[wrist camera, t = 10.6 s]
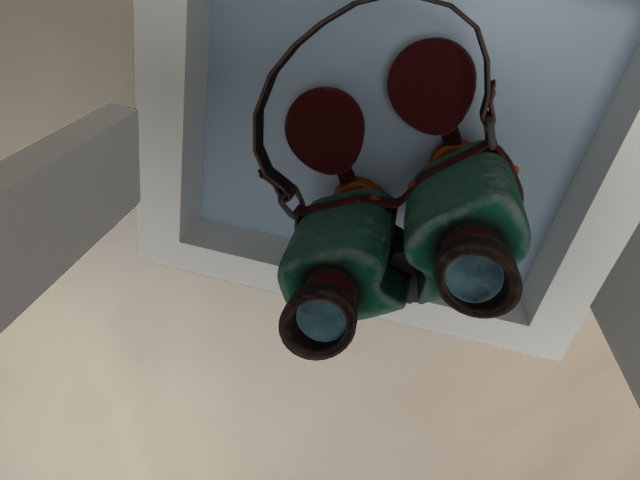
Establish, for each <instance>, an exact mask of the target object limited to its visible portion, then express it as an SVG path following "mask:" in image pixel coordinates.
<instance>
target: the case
mask: <svg viewBox="0 0 640 480" xmlns="http://www.w3.org/2000/svg"><path fill="white" fill-rule="evenodd" d="M352 1H355V0H133V14H134V71H135V109H138V118H139V161H140V202H139V203H138V204H137V241H138V259H139V260H143V261H148V262H152V263H156V264H160V265H164V266H168V267H172V268H176V269H180V270H184V271H189V272H193V273H197V274H201V275H205V276H209V277H213V278H217V279H221V280H225V281H230V282H234V283H238V284H242V285H246V286H250V287H254V288H258V289H262V290H266V291H270V292H275V293H279V294H282V292H281V290H280V286H279V283H278V279H277V273H278V267H279V264H280V261H281V259H282V257H283V254H284V252H285V250H286V248H287V246H288V244H289V241H290V239H291V237H292V235H293V233H294V231H295V230H294V224H295V220H294V219H292V218H290V217H289V216H288V215H287V214H286V213H285V211H284V210H283V209H282V208H281V207H280V206H279V203H278V196H277V194H276V192H275V190H274V188H273V186H272V185H271V184H269V183H268V182H267V181H265V180H264V179H261V178H260V177H259V173H258V170H259V169H260V167H259V165H258V162H257V160H256V158H255V155H254V153H253V112H254V110H255V107H256V104H257V102H258V99H259V97H260V94H261V91H262V89H263V86H264V83H265V81H266V78H267V75H268V73H269V72H270V71H271V70H272V68H273V67H274V66H275V65H276V63H277V62H278V61H279V60H280V58H281V57H282V56H283V55H284V53H285V52H286V51H287V50H288V49H289V47H290V46H291V45H292V44H293V43H294V42H295V41H296V40H298V39H299V38H300V37H301V36H302V35H304V34H305V33H306V32H307V31H308V30H309V29H311V28H312V27H313V26H314V25H315V24H317V23H318V22H319V21H321V20H323V19H324V18H326V17H327V16H329V15H331V14H332V13H334V12H336V11H337V10H339V9H341V8H342V7H344V6H346V5H347V4H349V3H350V2H352ZM441 1H445V2H449V3H452V4H454V5H455V6H456V7H457V8H458V9H459V10H461V11H462V12H463V13H464V14H465V15H466V16H468V17H469V18H470V19H471V20H472V21H474V22H475V23H476V24H477V25H478V26H479V27H480V29H481V33H482V36H483V39H484V42H485V45H486V49H487V52H488V55H489V58H490V73H491V81H492V80H493V79H495V80H496V88H495V91H496V95H495V97H494V101H493V104H494V110H495V115H496V123H495V136H496V140H497V144H498V145H499V146H501V147H502V148H503V150H504V151H505V152H506V153H507V155H508V156H509V157H510V159H511V161H512V162H513V165H515V166H517V167H519V173H518V177H519V180H520V182H521V185H522V187H523V193H524V202H523V204H524V208H525V211H526V215H527V218H528V221H529V226H530V231H531V243H530V249H529V251H528V254H527V255H526V257H525V258H524V259H523V261H521V262H520V263H519V264H518V265H517V267H518V269H519V272H520V275H521V278H522V284H523V291H522V296H521V299H520V301H519V303H518V304H517V305H516V306H515V308H514V309H513V310H511V311H510V312H508V313H507V314H505V315H502V316H500V317H496V318H490V319H479V318H474V317H469V316H467V315H464V314H461V313H459V312H458V311H456V310H454V309H453V308H451V307H450V306H449V305H448V304H447V303H445V301H444V300H443V299H439V300H435V301H431V302H427V303H425V304H419V303H413V302H412V304H408V303H406V305H405V307H404V308H403V309H401V310H397V311H394V312H390V313H387V314H384V315H380V316H376V317H377V318H381V319H385V320H389V321H393V322H398V323H402V324H406V325H410V326H414V327H418V328H422V329H426V330H430V331H434V332H439V333H443V334H447V335H451V336H455V337H459V338H463V339H467V340H471V341H475V342H480V343H484V344H488V345H492V346H496V347H500V348H504V349H508V350H512V351H516V352H521V353H525V354H529V355H533V356H537V357H541V358H545V359H549V360H553V361H557V362H561V360H562V359H563V357H564V355H565V354H566V352H567V350H568V348H569V347H570V345H571V343H572V341H573V340H574V338H575V336H576V335H577V333H578V331H579V329H580V328H581V326H582V324H583V323H584V321H585V319H586V317H587V316H588V314H589V312H590V310H591V308H590V305H591V303H592V301H593V300H594V298H595V296H596V295H597V293H598V291H599V290H600V288H601V286H602V285H603V283H604V281H605V279H606V278H607V276H608V274H609V273H610V271H611V269H612V268H613V266H614V264H615V263H616V261H617V259H618V258H619V256H620V254H621V252H622V251H623V249H624V247H625V246H626V244H627V242H628V241H629V239H630V237H631V236H632V234H633V232H634V230H635V229H636V227H637V225H638V224H639V222H640V0H441ZM439 37H440V38H446V39H450V40H452V41H454V42H457V43H458V44H460V45H461V46H462V47H463V48H465V49H466V51H467V52H468V53H469V55H470V56H471V58H472V60H473V62H474V65H475V69H476V74H477V82H476V91H475V95H474V99H473V101H472V104H471V107H470V109H469V111H468V112H467V114H466V116H465V117H464V119H463V121H462V122H461V123H460V124H459V125H458V128H459V131H460V135H461V139H462V140H467V141H470V142H472V143H473V142H476V141H479V140H484V139H485V135H484V127H483V124H482V122H481V120H480V114H479V111H480V108H481V104H482V100H483V96H484V59H483V56H482V53H481V49H480V46H479V43H478V40H477V37H476V33H475V30H474V28H473V27H471V26H470V25H469V24H468V23H467V22H466V21H464V20H463V19H462V18H461V17H460V16H458V15H457V14H456V13H455V12H454V11H453V10H451V9H450V8H448V7H444V6H441V5H437V4H433V3H429V2H425V1H421V0H379V1H375V2H370V3H366V4H362V5H358V6H356V7H355V8H353V9H351V10H350V11H348V12H346V13H345V14H343V15H341V16H340V17H338V18H336V19H335V20H333V21H331V22H329V23H328V24H326V25H325V26H324V27H322V28H321V29H320V30H319V31H318V32H316V33H315V34H314V35H313V36H312V37H310V38H309V39H308V40H307V41H306V42H304V43H303V44H302V45H301V46H300V47H299V48H298V50H297V51H296V52H295V53H294V55H293V56H292V57H291V58H290V59H289V61H288V62H287V63H286V64H285V65H284V67H283V68H282V69H281V70H280V72H279V73H278V75H277V78H276V81H275V83H274V86H273V88H272V91H271V93H270V96H269V99H268V101H267V104H266V106H265V109H264V147H265V149H266V152H267V154H268V157H269V159H270V161H271V164H272V166H273V167H274V168H275V169H276V170H277V171H279V172H280V173H281V174H282V175H284V176H285V177H286V178H288V179H289V180H290V181H291V182H292V183H294V184H296V185H297V187H298V189H299V191H300V193H301V195H302V197H303V199H304V201H305V205H306V206H309V205H310V204H311V203H312V202H313V201H315V200H318V199H320V198H323V197H327V196H331V195H333V194H334V192H335V190H336V188H337V186H338V185H339V184H340V181H339V178H338V176H337V175H326V174H322V173H319V172H317V171H314V170H313V169H311V168H309V167H307V166H306V165H305V164H304V163H302V162H301V161H300V160H299V159H298V158H297V157H296V156H295V154H294V153H293V152H292V150H291V149H290V147H289V145H288V143H287V139H286V136H285V119H286V115H287V113H288V110H289V108H290V106H291V105H292V103H293V102H294V100H296V99H297V98H298V97H299V96H300V95H301V94H303V93H304V92H306V91H308V90H310V89H313V88H317V87H333V88H338V89H340V90H342V91H345V92H346V93H348V94H349V95H350V96H352V97H353V98H354V99H355V101H356V102H357V103H358V104H359V106H360V108H361V110H362V113H363V117H364V120H365V134H364V142H363V146H362V149H361V152H360V154H359V156H358V158H357V161H356V162H355V163H354V165H353V166H352V169H353V171H354V174H355V176H359V177H364V178H367V179H369V180H371V181H373V182H374V183H376V184H377V185H378V186H380V187H381V188H382V189H383V190H384V191H385V192H386V193H388V194H390V195H391V196H392V197H394V198H398V197H400V196H401V195H403V194H404V193H405V191H406V190H407V189H408V183H409V182H410V181H412V180H413V178H414V177H415V175H416V174H417V173H418V172H419V171H420V170H421V169H422V168H423V167H425V166H427V165H428V164H429V160H430V157H431V155H432V153H433V151H434V150H435V149H436V148H437V146H438V145H440V144H441V143H443V139H442V136H441V135H438V136H434V135H427V134H424V133H422V132H419V131H417V130H415V129H414V128H412V127H411V126H409V125H408V124H406V123H405V122H404V121H403V120H402V119H401V118H400V117H399V116H398V114H397V113H396V112H395V110H394V109H393V107H392V105H391V103H390V100H389V96H388V92H387V79H388V74H389V70H390V68H391V66H392V63H393V61H394V60H395V59H396V57H397V56H398V54H399V53H400V52H401V51H402V50H404V49H405V48H406V47H407V46H409V45H410V44H412V43H414V42H416V41H419V40H422V39H425V38H439ZM487 110H488V111H489V108H488V109H487ZM406 201H407V200H406ZM286 205H287V206H288V207H289V208H290V209H291V210H292V212H293V211H294V209H295V208H296V206H297V205H299V200H298V198H297V197H296V195H294V197H293V198H292V199H291V201H289V202H287V203H286ZM405 208H406V202H405V203H404V204H403V205H401V206H400V207H398V211H397V217H396V225H397V226H399V227H401V228H402V229H404V215H405ZM302 216H303V215H302Z"/></svg>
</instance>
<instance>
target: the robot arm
mask: <svg viewBox="0 0 640 480" xmlns="http://www.w3.org/2000/svg"><path fill="white" fill-rule="evenodd" d="M139 202H140V161H139V118H138V109H134V108H129V107H125V106H120V105H116V104H111V103H110V104H108V105H106V106H105V107H103V108H101V109H99V110H97V111H95V112H93V113H91V114H89V115H87V116H85V117H84V118H82V119H80V120H78V121H76V122H74V123H72V124H70V125H68V126H66V127H64V128H63V129H61V130H59V131H57V132H55V133H53V134H51V135H49V136H47V137H45V138H44V139H42V140H40V141H38V142H36V143H34V144H32V145H30V146H28V147H26V148H24V149H23V150H21V151H19V152H17V153H15V154H13V155H11V156H9V157H7V158H5V159H3V160H2V161H0V333H1V332H2V331H3V330H4V329H5V328H7V327H8V326H9V325H10V324H11V323H12V322H13V321H14V320H15V319H16V318H17V317H18V316H19V315H20V314H21V313H22V312H24V311H25V310H26V309H27V308H28V307H29V306H30V305H31V304H32V303H33V302H34V301H35V300H36V299H37V298H38V297H39V296H41V295H42V294H43V293H44V292H45V291H46V290H47V289H48V288H49V287H50V286H51V285H52V284H53V283H54V282H55V281H56V280H58V279H59V278H60V277H61V276H62V275H63V274H64V273H65V272H66V271H67V270H68V269H69V268H70V267H71V266H72V265H73V264H74V263H76V262H77V261H78V260H79V259H80V258H81V257H82V256H83V255H84V254H85V253H86V252H87V251H88V250H89V249H90V248H91V247H93V246H94V245H95V244H96V243H97V242H98V241H99V240H100V239H101V238H102V237H103V236H104V235H105V234H106V233H107V232H108V231H110V230H111V229H112V228H113V227H114V226H115V225H116V224H117V223H118V222H119V221H120V220H121V219H122V218H123V217H124V216H125V215H127V214H128V213H129V212H130V211H131V210H132V209H133V208H134V207H135V206H136V205H137V204H138V203H139ZM590 308H591V310H592V312H593V314H594V316H595V318H596V320H597V322H598V324H599V326H600V328H601V330H602V332H603V334H604V336H605V338H606V340H607V342H608V344H609V347H610V349H611V351H612V353H613V355H614V357H615V359H616V361H617V363H618V365H619V367H620V369H621V371H622V373H623V375H624V377H625V379H626V381H627V383H628V385H629V387H630V389H631V392H632V394H633V396H634V398H635V400H636V402H637V404H638V406H639V408H640V222H639V224H638V225H637V227H636V229H635V230H634V232H633V234H632V236H631V237H630V239H629V241H628V242H627V244H626V246H625V247H624V249H623V251H622V252H621V254H620V256H619V258H618V259H617V261H616V263H615V264H614V266H613V268H612V269H611V271H610V273H609V274H608V276H607V278H606V279H605V281H604V283H603V285H602V286H601V288H600V290H599V291H598V293H597V295H596V296H595V298H594V300H593V301H592V303H591V305H590Z"/></svg>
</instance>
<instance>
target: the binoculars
mask: <svg viewBox="0 0 640 480" xmlns="http://www.w3.org/2000/svg"><path fill="white" fill-rule="evenodd" d="M375 1H379V0H355V1H352V2H350V3H349V4H347V5H346V6H344V7H342V8H341V9H339V10H337V11H336V12H334V13H332V14H331V15H329V16H327V17H326V18H324V19H323V20H321V21H319V22H318V23H317V24H315V25H314V26H313V27H312V28H311V29H309V30H308V31H307V32H306V33H305V34H304V35H302V36H301V37H300V38H299V39H298V40H296V41H295V42H294V43H293V44H292V45H291V46H290V47H289V49H288V50H287V51H286V52H285V53H284V55H283V56H282V57H281V58H280V60H279V61H278V62H277V63H276V65H275V66H274V67H273V68H272V70H271V71H270V72H269V73H268V75H267V78H266V81H265V83H264V86H263V89H262V91H261V94H260V97H259V99H258V102H257V104H256V107H255V110H254V112H253V153H254V155H255V158H256V160H257V162H258V165H259V167H260V169H259V170H258V173H259V177H260V178H261V179H264V180H265V181H267V182H268V183H269V184H271V185H272V186H273V188H274V190H275V192H276V194H277V196H278V203H279V206H280V207H281V208H282V209H283V210H284V211H285V213H286V214H287V215H288V216H289V217H290V218H292V219H294V220H295V224H294V230H295V231H294V233H293V235H292V237H291V239H290V241H289V244H288V246H287V248H286V250H285V252H284V254H283V257H282V259H281V261H280V264H279V267H278V273H277V279H278V283H279V286H280V290H281V292H282V294H283V296H284V298H285V301H286V303H287V304H286V306H285V308H284V309H283V311H282V314H281V316H280V319H279V334H280V337H281V339H282V342H283V343H284V345H285V346H286V347H287V349H289V350H290V351H291V352H292V353H293V354H295V355H297V356H299V357H301V358H304V359H307V360H316V361H317V360H325V359H329V358H332V357H334V356H336V355H338V354H340V353H341V352H342V351H343V350H345V349H346V348H347V347H348V345H349V344H350V343H351V341H352V339H353V337H354V334H355V330H356V324H357V320H361V319H367V318H372V317H376V316H380V315H384V314H387V313H390V312H394V311H397V310H401V309H403V308H404V307H405V305H406V303H408V304H412V302H413V303H419V304H425V303H427V302H431V301H435V300H439V299H443V300H444V301H445V303H447V304H448V305H449V306H450V307H451V308H453V309H454V310H456V311H458V312H459V313H461V314H464V315H467V316H469V317H474V318H479V319H490V318H496V317H500V316H502V315H505V314H507V313H508V312H510V311H511V310H513V309H514V308H515V306H516V305H517V304H518V303H519V301H520V299H521V296H522V291H523V284H522V278H521V275H520V272H519V269H518V267H517V265H518V264H519V263H520V262H521V261H523V259H524V258H525V257H526V255H527V254H528V251H529V249H530V243H531V231H530V226H529V221H528V218H527V215H526V211H525V208H524V204H523V202H524V193H523V187H522V185H521V182H520V180H519V177H518V173H519V167H517V166H515V165H513V162H512V161H511V159H510V157H509V156H508V155H507V153H506V152H505V151H504V150H503V148H502V147H501V146H499V145H498V144H497V140H496V136H495V123H496V115H495V110H494V104H493V101H494V97H495V95H496V91H495V88H496V80H495V79H493V80H492V81H491V73H490V58H489V55H488V52H487V49H486V45H485V42H484V39H483V36H482V33H481V29H480V27H479V26H478V25H477V24H476V23H475V22H474V21H472V20H471V19H470V18H469V17H468V16H466V15H465V14H464V13H463V12H462V11H461V10H459V9H458V8H457V7H456V6H455V5H454V4H452V3H449V2H445V1H441V0H421V1H425V2H429V3H433V4H437V5H441V6H444V7H448V8H450V9H451V10H453V11H454V12H455V13H456V14H457V15H458V16H460V17H461V18H462V19H463V20H464V21H466V22H467V23H468V24H469V25H470V26H471V27H473V28H474V30H475V33H476V37H477V40H478V43H479V46H480V49H481V53H482V56H483V59H484V96H483V100H482V104H481V108H480V111H479V114H480V120H481V122H482V124H483V127H484V135H485V139H484V140H479V141H476V142H473V143H472V142H470V141H467V140H462V139H461V135H460V131H459V128H458V125H459V124H460V123H461V122H462V121H463V119H464V117H465V116H466V114H467V112H468V111H469V109H470V107H471V104H472V101H473V99H474V95H475V91H476V82H477V74H476V69H475V65H474V62H473V60H472V58H471V56H470V55H469V53H468V52H467V51H466V49H465V48H463V47H462V46H461V45H460V44H458V43H457V42H454V41H452V40H450V39H446V38H440V37H439V38H425V39H422V40H419V41H416V42H414V43H412V44H410V45H409V46H407V47H406V48H405V49H404V50H402V51H401V52H400V53H399V54H398V56H397V57H396V59H395V60H394V61H393V63H392V66H391V68H390V70H389V74H388V79H387V92H388V96H389V100H390V103H391V105H392V107H393V109H394V110H395V112H396V113H397V114H398V116H399V117H400V118H401V119H402V120H403V121H404V122H405V123H406V124H408V125H409V126H411V127H412V128H414V129H415V130H417V131H419V132H422V133H424V134H427V135H434V136H438V135H441V136H442V139H443V143H441V144H440V145H438V146H437V148H436V149H435V150H434V151H433V153H432V155H431V157H430V160H429V164H428V165H427V166H425V167H423V168H422V169H421V170H420V171H419V172H418V173H417V174H416V175H415V177H414V178H413V180H412V181H410V182H409V183H408V189H407V190H406V191H405V193H404V194H403V195H401V196H400V197H398V198H394V197H392V196H391V195H390V194H388V193H386V192H385V191H384V190H383V189H382V188H381V187H380V186H378V185H377V184H376V183H374V182H373V181H371V180H369V179H367V178H364V177H359V176H355V174H354V171H353V169H352V166H353V165H354V163H355V162H356V161H357V158H358V156H359V154H360V152H361V149H362V146H363V142H364V134H365V120H364V117H363V113H362V110H361V108H360V106H359V104H358V103H357V102H356V101H355V99H354V98H353V97H352V96H350V95H349V94H348V93H346V92H345V91H342V90H340V89H338V88H333V87H317V88H313V89H310V90H308V91H306V92H304V93H303V94H301V95H300V96H299V97H298V98H297V99H296V100H294V102H293V103H292V105H291V106H290V108H289V110H288V113H287V115H286V119H285V136H286V139H287V143H288V145H289V147H290V149H291V150H292V152H293V153H294V154H295V156H296V157H297V158H298V159H299V160H300V161H301V162H302V163H304V164H305V165H306V166H307V167H309V168H311V169H313V170H314V171H317V172H319V173H322V174H326V175H337V176H338V178H339V181H340V184H339V185H338V186H337V188H336V190H335V192H334V194H333V195H331V196H327V197H323V198H320V199H318V200H315V201H313V202H312V203H311V204H310V205H309V206H306V205H305V201H304V199H303V197H302V195H301V193H300V191H299V189H298V187H297V185H296V184H294V183H292V182H291V181H290V180H289V179H288V178H286V177H285V176H284V175H282V174H281V173H280V172H279V171H277V170H276V169H275V168H274V167H273V166H272V164H271V161H270V159H269V157H268V154H267V152H266V149H265V147H264V109H265V106H266V104H267V101H268V99H269V96H270V93H271V91H272V88H273V86H274V83H275V81H276V78H277V75H278V73H279V72H280V70H281V69H282V68H283V67H284V65H285V64H286V63H287V62H288V61H289V59H290V58H291V57H292V56H293V55H294V53H295V52H296V51H297V50H298V48H299V47H300V46H301V45H302V44H303V43H304V42H306V41H307V40H308V39H309V38H310V37H312V36H313V35H314V34H315V33H316V32H318V31H319V30H320V29H321V28H322V27H324V26H325V25H326V24H328V23H329V22H331V21H333V20H335V19H336V18H338V17H340V16H341V15H343V14H345V13H346V12H348V11H350V10H351V9H353V8H355V7H356V6H358V5H362V4H366V3H370V2H375ZM488 108H489V111H488V110H487V109H488ZM294 195H296V197H297V198H298V200H299V205H297V206H296V208H295V209H294V211H293V212H292V210H291V209H290V208H289V207H288V206H287V205H286V203H287V202H289V201H291V199H292V198H293V197H294ZM406 200H407V201H406ZM405 202H406V208H405V215H404V229H402V228H401V227H399V226H397V225H396V217H397V211H398V207H400V206H401V205H403V204H404V203H405ZM302 215H303V216H302Z"/></svg>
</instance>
